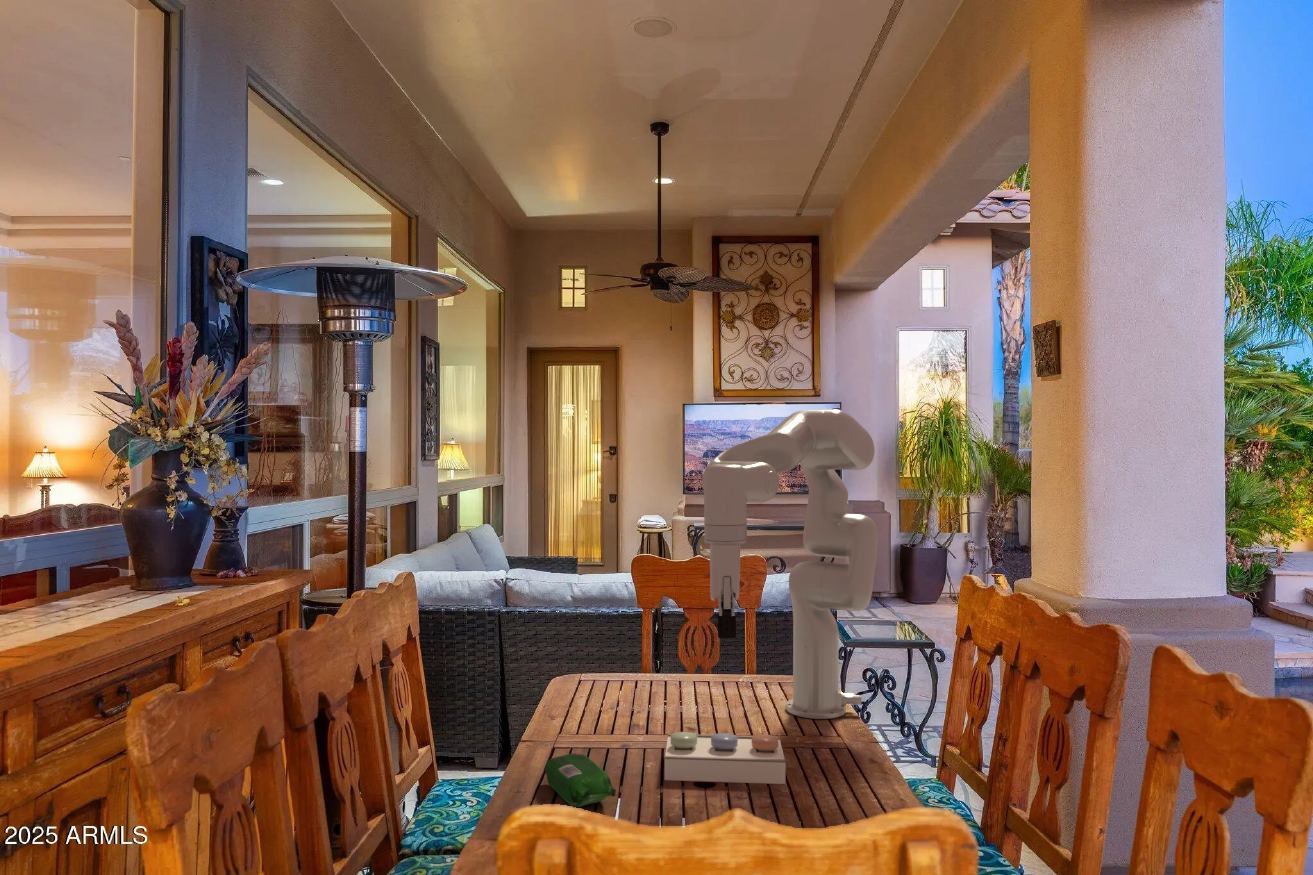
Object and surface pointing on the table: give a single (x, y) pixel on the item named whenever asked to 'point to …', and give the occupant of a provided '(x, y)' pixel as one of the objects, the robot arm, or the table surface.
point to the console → (725, 763)
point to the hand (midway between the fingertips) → (726, 636)
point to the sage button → (683, 740)
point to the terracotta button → (764, 743)
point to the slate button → (724, 741)
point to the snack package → (578, 779)
